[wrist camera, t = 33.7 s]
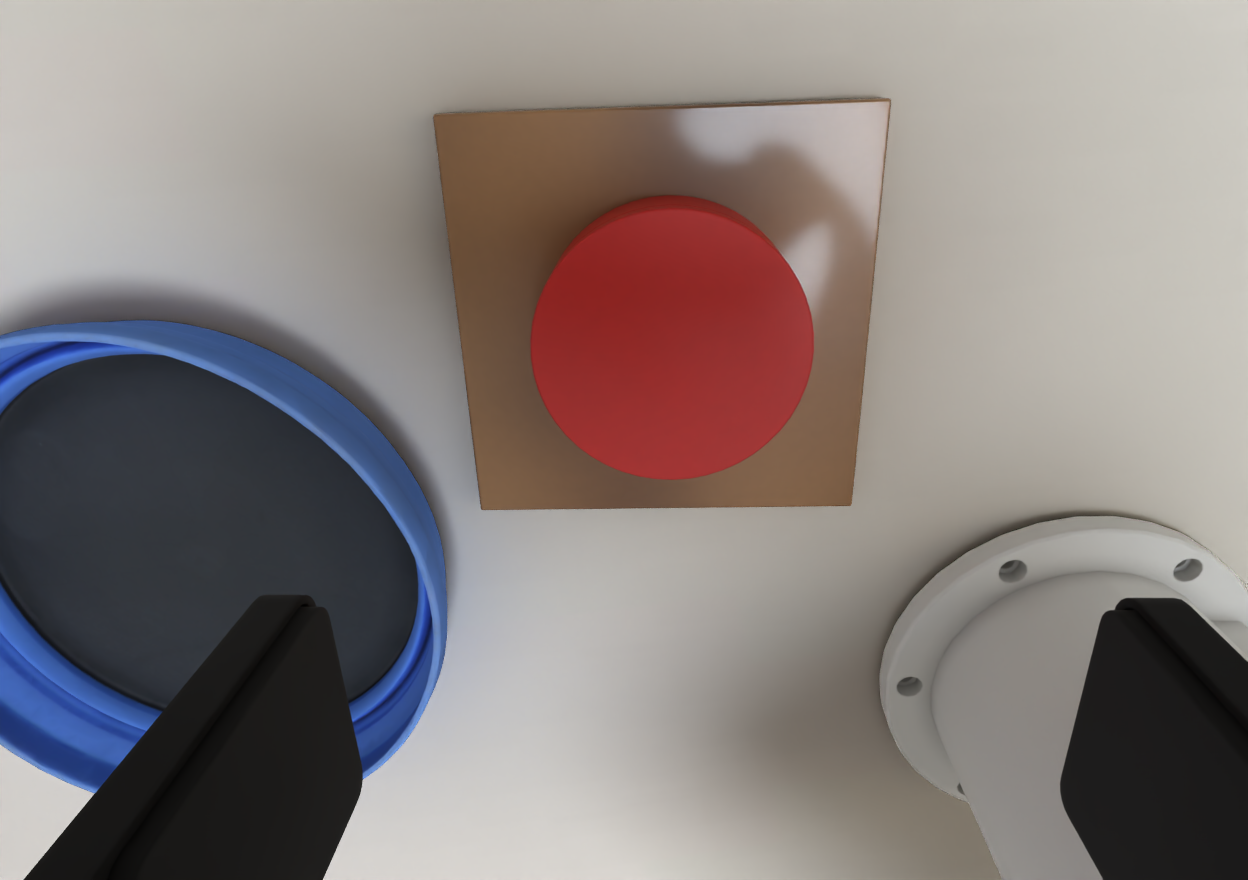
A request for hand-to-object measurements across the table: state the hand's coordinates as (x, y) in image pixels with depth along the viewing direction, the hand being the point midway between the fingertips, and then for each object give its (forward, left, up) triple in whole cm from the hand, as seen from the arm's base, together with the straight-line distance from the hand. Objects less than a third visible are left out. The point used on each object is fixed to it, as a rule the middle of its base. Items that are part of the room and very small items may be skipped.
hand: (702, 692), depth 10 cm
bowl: (+16, +8, -16) cm, 24 cm away
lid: (0, 0, -13) cm, 13 cm away
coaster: (0, 0, -16) cm, 16 cm away
